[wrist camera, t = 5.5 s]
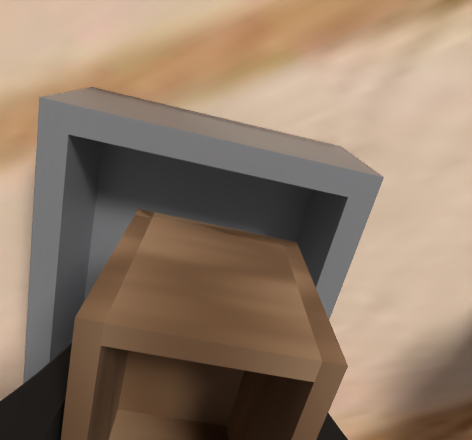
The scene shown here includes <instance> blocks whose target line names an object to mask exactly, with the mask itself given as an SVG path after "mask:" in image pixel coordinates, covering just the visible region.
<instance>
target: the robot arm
mask: <svg viewBox="0 0 472 440" xmlns="http://www.w3.org/2000/svg"><path fill="white" fill-rule="evenodd" d="M71 347H72V342H71V343H70V344H69V345H68V346H67V347H66V348H65V349H64V350H63V351H62V352H61V353H59V354H58V355H57V356H56V357H55V358H54V359H53V360H52V361H50V362H49V363H48V364H47V365H46V366H45V367H44V368H42V369H41V370H40V371H39V372H38V373H36V374H35V375H34V376H33V377H31V378H30V379H29V380H28V381H26V382H25V383H24V384H23V385H21V386H20V387H19V388H18V389H16V390H15V391H14V392H12V393H11V394H10V395H8V396H7V397H5V398H4V399H3V400H1V401H0V440H61V434H62V426H63V417H64V408H65V400H66V391H67V382H68V373H69V365H70V356H71ZM316 440H348V439H347V438H346V436H345V435H344V434H343V433H342V431H341V430H340V429H339V427H338V426H337V425H336V423H335V422H334V420H333V419H332V418H331V416H330V415H329V413H327V416H326V418H325V420H324V423H323V425H322V427H321V430H320V432H319V434H318V437H317V439H316Z"/></svg>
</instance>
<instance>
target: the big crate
mask: <svg viewBox="0 0 472 440" xmlns="http://www.w3.org/2000/svg"><path fill="white" fill-rule="evenodd" d="M383 178H384V177H383V176H381V175H380V174H379V173H377V172H376V171H374V170H373V169H372V168H370V167H369V166H368V165H366V164H365V163H363V162H362V161H361V160H359V159H358V158H356V157H355V156H354V155H352V154H351V153H350V152H348V151H347V150H345V149H344V148H343V147H341V146H336V145H332V144H328V143H324V142H320V141H315V140H311V139H307V138H303V137H299V136H294V135H290V134H286V133H282V132H278V131H273V130H269V129H265V128H261V127H257V126H253V125H248V124H244V123H240V122H236V121H232V120H227V119H223V118H219V117H215V116H211V115H206V114H202V113H198V112H194V111H190V110H185V109H181V108H177V107H173V106H169V105H165V104H160V103H156V102H152V101H148V100H144V99H139V98H135V97H131V96H127V95H123V94H118V93H114V92H110V91H106V90H102V89H97V88H93V87H90V88H85V89H79V90H74V91H69V92H64V93H59V94H53V95H48V96H43V97H39V115H38V133H37V151H36V169H35V187H34V205H33V223H32V241H31V259H30V277H29V295H28V313H27V331H26V349H25V367H24V383H25V382H26V381H28V380H29V379H30V378H31V377H33V376H34V375H35V374H36V373H38V372H39V371H40V370H41V369H42V368H44V367H45V366H46V365H47V364H48V363H49V362H50V361H52V360H53V359H54V358H55V357H56V356H57V355H58V354H59V353H61V352H62V351H63V350H64V349H65V348H66V347H67V346H68V345H69V344H70V343H71V342H72V339H73V330H74V321H75V317H76V315H77V313H78V311H79V310H80V308H81V306H82V305H83V303H84V301H85V299H86V298H87V296H88V294H89V293H90V291H91V289H92V287H93V286H94V284H95V282H96V281H97V279H98V277H99V275H100V274H101V272H102V270H103V269H104V267H105V265H106V263H107V262H108V260H109V258H110V256H111V255H112V253H113V251H114V250H115V248H116V246H117V244H118V243H119V241H120V239H121V238H122V236H123V234H124V232H125V231H126V229H127V227H128V226H129V224H130V222H131V220H132V219H133V217H134V215H135V214H136V212H137V210H138V209H142V210H147V211H151V212H156V213H161V214H165V215H170V216H175V217H179V218H184V219H189V220H194V221H198V222H203V223H208V224H212V225H217V226H222V227H227V228H231V229H236V230H241V231H245V232H250V233H255V234H260V235H264V236H269V237H274V238H278V239H283V240H288V241H292V242H297V244H298V246H299V249H300V251H301V253H302V256H303V258H304V261H305V263H306V266H307V268H308V270H309V273H310V275H311V278H312V280H313V283H314V285H315V288H316V290H317V292H318V295H319V297H320V300H321V302H322V305H323V307H324V309H325V312H326V314H327V317H328V319H330V316H331V314H332V311H333V308H334V306H335V303H336V300H337V298H338V295H339V293H340V290H341V287H342V285H343V282H344V280H345V277H346V274H347V272H348V269H349V267H350V264H351V261H352V259H353V256H354V254H355V251H356V248H357V246H358V243H359V240H360V238H361V235H362V233H363V230H364V227H365V225H366V222H367V220H368V217H369V214H370V212H371V209H372V207H373V204H374V201H375V199H376V196H377V194H378V191H379V188H380V186H381V183H382V181H383Z"/></svg>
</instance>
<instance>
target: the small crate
mask: <svg viewBox="0 0 472 440" xmlns="http://www.w3.org/2000/svg"><path fill="white" fill-rule="evenodd" d="M347 367H348V365H347V363H346V360H345V358H344V356H343V353H342V351H341V348H340V346H339V343H338V341H337V339H336V336H335V334H334V331H333V329H332V326H331V324H330V322H329V319H328V317H327V314H326V312H325V309H324V307H323V305H322V302H321V300H320V297H319V295H318V292H317V290H316V288H315V285H314V283H313V280H312V278H311V275H310V273H309V270H308V268H307V266H306V263H305V261H304V258H303V256H302V253H301V251H300V249H299V246H298V244H297V242H292V241H288V240H283V239H278V238H274V237H269V236H264V235H260V234H255V233H250V232H245V231H241V230H236V229H231V228H227V227H222V226H217V225H212V224H208V223H203V222H198V221H194V220H189V219H184V218H179V217H175V216H170V215H165V214H161V213H156V212H151V211H147V210H142V209H138V210H137V212H136V214H135V215H134V217H133V219H132V220H131V222H130V224H129V226H128V227H127V229H126V231H125V232H124V234H123V236H122V238H121V239H120V241H119V243H118V244H117V246H116V248H115V250H114V251H113V253H112V255H111V256H110V258H109V260H108V262H107V263H106V265H105V267H104V269H103V270H102V272H101V274H100V275H99V277H98V279H97V281H96V282H95V284H94V286H93V287H92V289H91V291H90V293H89V294H88V296H87V298H86V299H85V301H84V303H83V305H82V306H81V308H80V310H79V311H78V313H77V315H76V317H75V321H74V330H73V339H72V347H71V356H70V365H69V373H68V382H67V391H66V400H65V408H64V417H63V426H62V434H61V440H316V439H317V437H318V434H319V432H320V430H321V427H322V425H323V423H324V420H325V418H326V416H327V413H328V411H329V409H330V407H331V404H332V402H333V400H334V397H335V395H336V393H337V390H338V388H339V386H340V383H341V381H342V379H343V376H344V374H345V372H346V369H347Z"/></svg>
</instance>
